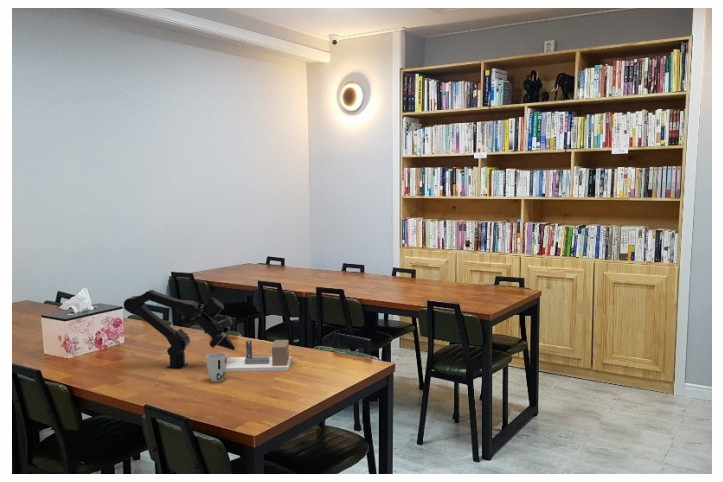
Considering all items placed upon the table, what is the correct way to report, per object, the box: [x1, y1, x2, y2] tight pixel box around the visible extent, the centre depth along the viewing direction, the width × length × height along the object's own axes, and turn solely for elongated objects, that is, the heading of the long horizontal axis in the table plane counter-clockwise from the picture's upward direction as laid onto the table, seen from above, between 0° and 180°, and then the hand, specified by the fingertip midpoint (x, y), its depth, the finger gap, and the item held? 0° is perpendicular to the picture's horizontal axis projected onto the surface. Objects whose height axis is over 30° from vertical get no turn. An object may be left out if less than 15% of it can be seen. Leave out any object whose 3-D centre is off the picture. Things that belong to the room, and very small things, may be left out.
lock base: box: [225, 339, 292, 373], centre depth 262 cm, size 30×16×10 cm, turn 92°
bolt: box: [245, 340, 270, 360], centre depth 262 cm, size 10×3×9 cm, turn 92°
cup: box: [205, 352, 228, 383], centre depth 243 cm, size 8×8×10 cm
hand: (234, 349), depth 262 cm, fingers closed
